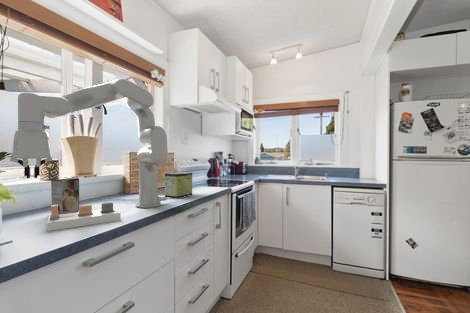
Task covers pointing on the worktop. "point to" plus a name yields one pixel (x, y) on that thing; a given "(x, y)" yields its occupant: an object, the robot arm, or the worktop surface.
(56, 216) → the slider lever
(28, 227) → the worktop surface
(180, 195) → the protein box
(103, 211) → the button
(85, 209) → the press button
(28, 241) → the worktop surface
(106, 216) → the console
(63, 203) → the coffee box
